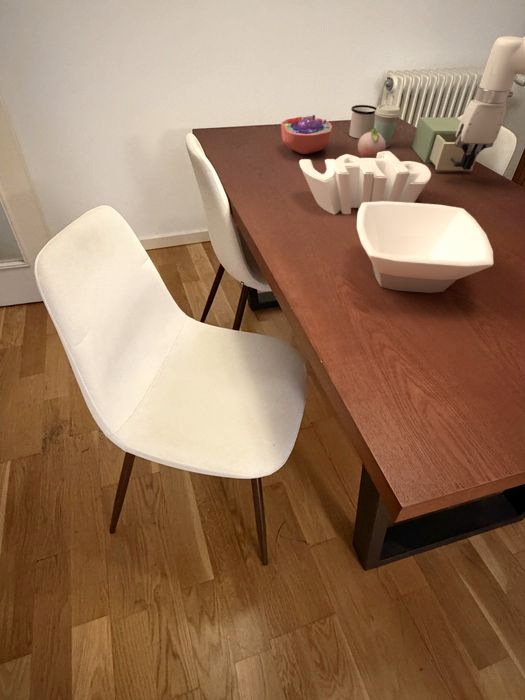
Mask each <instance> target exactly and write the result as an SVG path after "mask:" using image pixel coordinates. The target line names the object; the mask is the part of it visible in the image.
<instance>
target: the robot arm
mask: <svg viewBox="0 0 525 700" xmlns="http://www.w3.org/2000/svg"><path fill="white" fill-rule="evenodd" d="M517 75H523V76H525V35H524V36H523V37H520V36H515V35H514V36H513V35H512V36H511V35H505V36H500V37H497V39H496V40H495V41H494V43H493V45H492V47H491V50H490V53H489V56H488V58H487V63H486V65H485V68H484V70H483V73H482V76H481V78H480V79H481V80H480V82H479V85H478V88H477V91H476V94H475V97H474V99H471V100H470V102H469V103H468V105H467V106H466V109H465V111H464V113H463V115H462V117H461V119H460V121H461V122H460V124H459V127H458V130H457V133H456V138H457V140H456V142H455V144H454V145H455V146H456V147H459V148H462V149H463V152H464V155H463V158H462V160H461V167H462V168H463V169H464V170H463V171H471V170H470V168H471V166H472V165H473V163H474V160H475V157H476V155H477V156H478V155H480V153H481V152H482V151H483V150H485V149H488V148H492V147H493V146H494V143H495V142H496V140H497V138H498V136H499V134H500V131H501V129H502V125H503V122H504V118H505V115H506V110H507V100H508V99H509V98H512V97H513V95H514V91H511V88H512V86H513V83H514V81H515V78H516V76H517ZM473 144H474V145H473ZM466 169H467V170H466Z"/></svg>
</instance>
